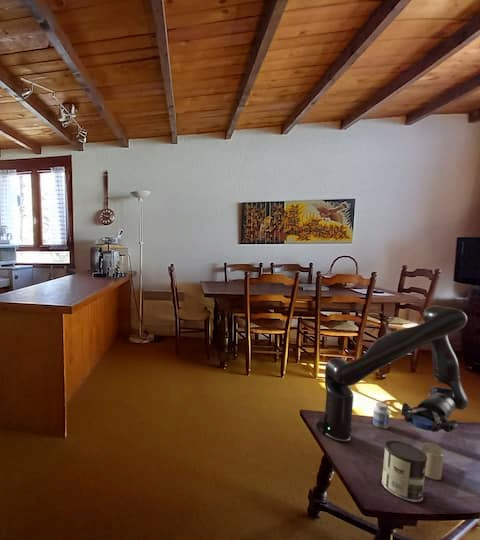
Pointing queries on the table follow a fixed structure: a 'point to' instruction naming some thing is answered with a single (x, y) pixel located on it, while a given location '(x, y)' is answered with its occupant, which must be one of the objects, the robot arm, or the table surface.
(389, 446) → the coffee can
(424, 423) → the lid
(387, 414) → the pill bottle
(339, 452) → the table surface
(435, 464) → the jar
